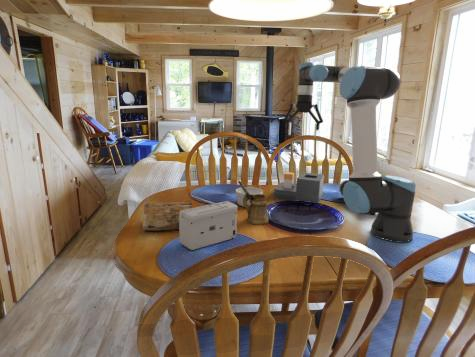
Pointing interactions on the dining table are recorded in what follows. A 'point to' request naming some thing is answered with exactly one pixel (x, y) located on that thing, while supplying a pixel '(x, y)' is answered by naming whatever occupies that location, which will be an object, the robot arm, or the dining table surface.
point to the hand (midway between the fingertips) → (302, 135)
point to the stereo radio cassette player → (207, 224)
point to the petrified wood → (163, 215)
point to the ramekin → (241, 193)
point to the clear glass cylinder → (288, 180)
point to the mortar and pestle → (255, 207)
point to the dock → (302, 188)
